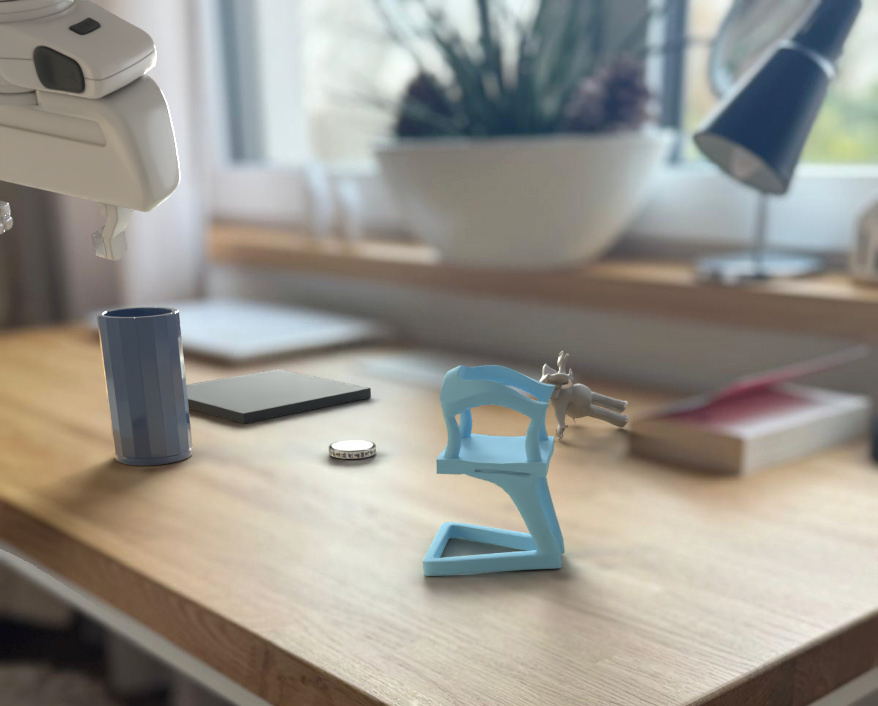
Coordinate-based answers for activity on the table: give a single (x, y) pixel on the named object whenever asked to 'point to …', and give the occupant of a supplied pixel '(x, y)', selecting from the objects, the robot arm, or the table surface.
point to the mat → (269, 395)
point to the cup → (145, 385)
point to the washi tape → (352, 449)
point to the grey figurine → (579, 399)
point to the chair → (499, 472)
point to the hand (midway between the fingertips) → (54, 242)
